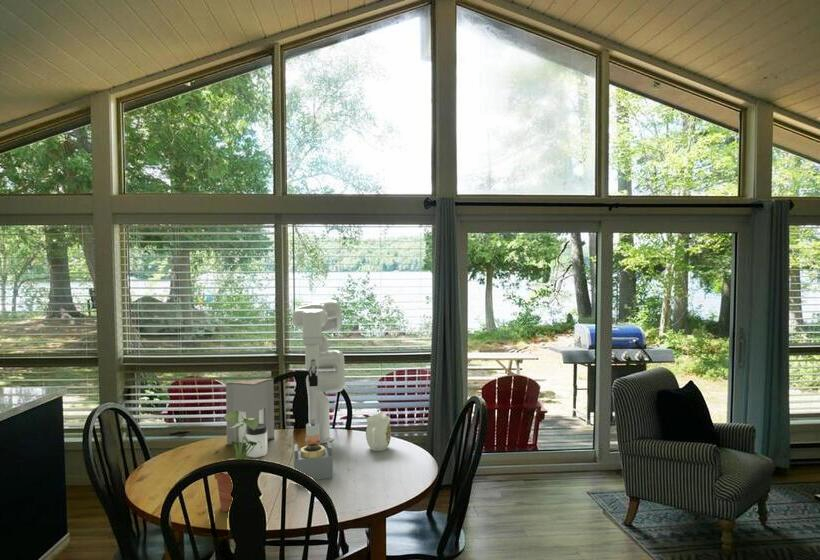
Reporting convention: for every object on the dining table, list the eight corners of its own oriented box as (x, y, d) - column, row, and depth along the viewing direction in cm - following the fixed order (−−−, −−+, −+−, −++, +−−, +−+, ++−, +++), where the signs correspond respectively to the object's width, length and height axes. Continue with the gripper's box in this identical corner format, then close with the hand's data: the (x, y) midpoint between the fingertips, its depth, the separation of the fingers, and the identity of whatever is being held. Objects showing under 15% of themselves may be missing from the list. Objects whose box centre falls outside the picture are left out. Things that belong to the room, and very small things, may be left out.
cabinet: (273, 437, 242) (273, 378, 242) (277, 443, 234) (276, 382, 233) (226, 444, 234) (225, 382, 234) (228, 450, 225) (227, 386, 225)
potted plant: (263, 511, 165) (262, 402, 165) (213, 518, 161) (211, 406, 161) (263, 492, 180) (261, 392, 180) (216, 498, 176) (215, 396, 176)
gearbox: (294, 471, 199) (293, 443, 199) (330, 468, 202) (330, 440, 202) (294, 481, 189) (294, 451, 189) (332, 477, 193) (332, 448, 193)
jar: (271, 452, 222) (271, 424, 222) (258, 458, 214) (258, 430, 214) (256, 449, 226) (255, 422, 226) (242, 455, 218) (241, 427, 218)
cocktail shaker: (305, 451, 198) (305, 416, 198) (319, 450, 199) (318, 415, 199) (306, 456, 193) (306, 420, 193) (320, 454, 194) (319, 419, 194)
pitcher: (360, 455, 216) (359, 423, 216) (371, 442, 234) (371, 412, 234) (385, 457, 214) (385, 424, 214) (395, 443, 232) (394, 412, 232)
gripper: (302, 339, 215) (302, 380, 215) (303, 344, 198) (304, 388, 198) (320, 338, 217) (320, 379, 217) (323, 343, 200) (323, 387, 200)
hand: (312, 383), depth 208 cm, fingers open, 9 cm apart
